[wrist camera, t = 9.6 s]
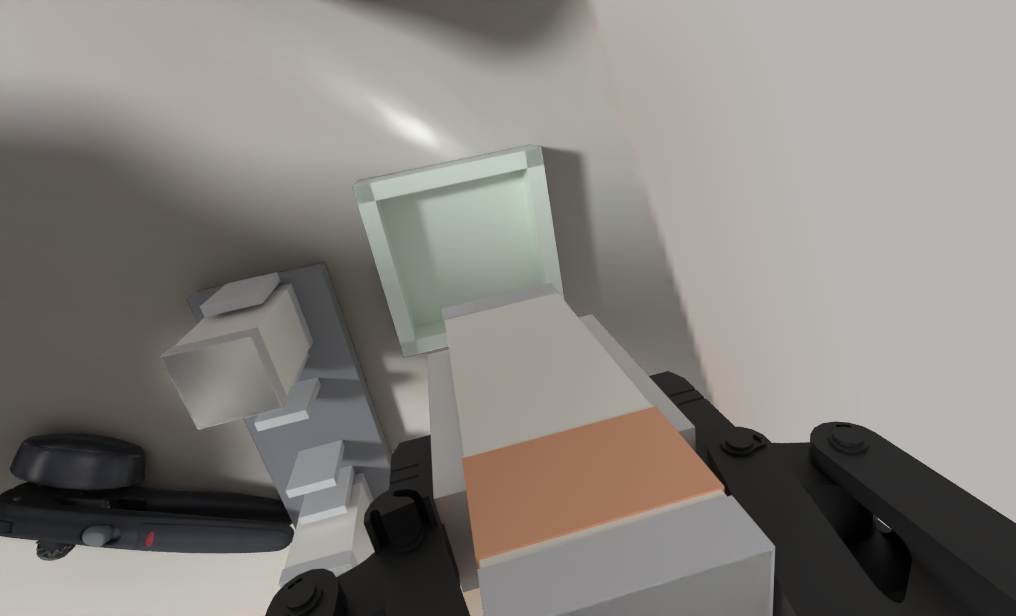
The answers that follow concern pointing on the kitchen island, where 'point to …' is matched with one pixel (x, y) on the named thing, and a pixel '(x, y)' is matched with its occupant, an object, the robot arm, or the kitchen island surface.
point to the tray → (458, 237)
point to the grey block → (332, 539)
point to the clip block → (313, 402)
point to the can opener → (125, 504)
